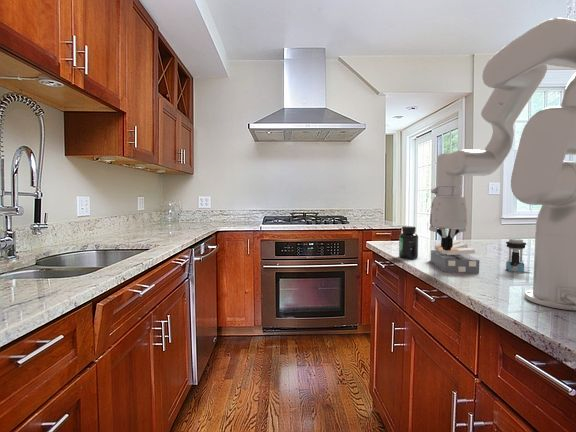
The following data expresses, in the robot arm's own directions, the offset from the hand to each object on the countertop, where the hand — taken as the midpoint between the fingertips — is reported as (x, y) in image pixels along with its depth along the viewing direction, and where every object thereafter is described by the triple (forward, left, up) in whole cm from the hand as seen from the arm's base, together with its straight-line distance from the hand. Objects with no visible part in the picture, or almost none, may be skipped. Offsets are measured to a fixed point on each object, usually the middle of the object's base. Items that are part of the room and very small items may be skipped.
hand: (446, 249), depth 108 cm
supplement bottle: (+20, +8, -7) cm, 22 cm away
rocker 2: (+6, -4, -1) cm, 7 cm away
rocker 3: (0, -4, -1) cm, 4 cm away
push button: (+2, -22, -7) cm, 23 cm away
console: (+6, -4, -7) cm, 10 cm away
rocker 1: (+12, -4, -1) cm, 12 cm away
